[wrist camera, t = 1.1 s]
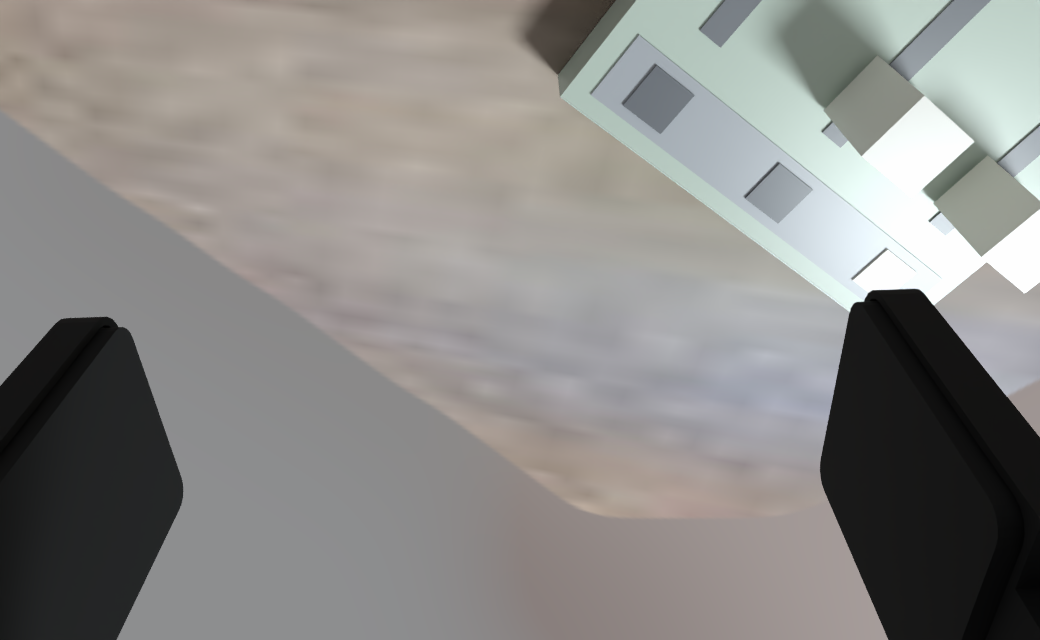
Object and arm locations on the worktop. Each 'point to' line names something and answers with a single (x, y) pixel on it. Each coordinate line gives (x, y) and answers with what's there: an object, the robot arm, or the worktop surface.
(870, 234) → the switch box
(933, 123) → the switch
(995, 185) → the switch
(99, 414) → the robot arm
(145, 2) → the worktop surface
